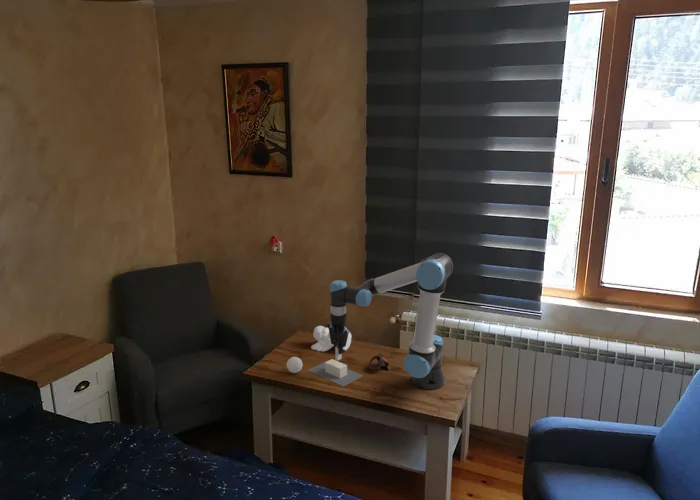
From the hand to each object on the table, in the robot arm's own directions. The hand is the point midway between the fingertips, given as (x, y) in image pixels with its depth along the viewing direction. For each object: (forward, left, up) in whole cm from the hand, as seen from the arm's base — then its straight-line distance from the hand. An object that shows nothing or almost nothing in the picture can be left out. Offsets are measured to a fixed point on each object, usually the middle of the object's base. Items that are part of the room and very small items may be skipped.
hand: (338, 359), depth 260 cm
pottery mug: (-10, -19, -9) cm, 23 cm away
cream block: (-3, 0, -6) cm, 7 cm away
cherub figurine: (+24, -19, -9) cm, 32 cm away
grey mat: (+2, 0, -9) cm, 9 cm away
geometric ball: (+18, +12, -9) cm, 23 cm away
